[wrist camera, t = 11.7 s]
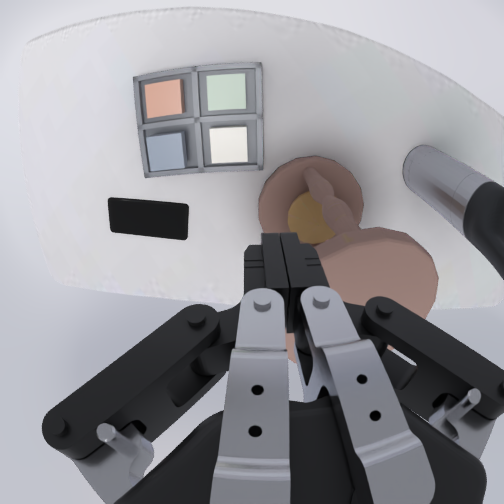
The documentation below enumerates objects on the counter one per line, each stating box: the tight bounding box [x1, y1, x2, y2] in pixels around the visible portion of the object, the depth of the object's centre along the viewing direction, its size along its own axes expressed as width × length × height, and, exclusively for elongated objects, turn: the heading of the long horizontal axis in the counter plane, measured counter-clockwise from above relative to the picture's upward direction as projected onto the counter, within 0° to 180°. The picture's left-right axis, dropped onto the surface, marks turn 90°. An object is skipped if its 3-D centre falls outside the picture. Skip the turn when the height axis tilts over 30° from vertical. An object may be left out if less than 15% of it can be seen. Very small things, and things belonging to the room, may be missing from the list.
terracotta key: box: [145, 79, 185, 118], centre depth 32 cm, size 5×5×2 cm
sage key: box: [207, 73, 246, 111], centre depth 32 cm, size 5×5×2 cm
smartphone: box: [108, 197, 189, 240], centre depth 45 cm, size 7×1×15 cm
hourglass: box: [259, 156, 439, 364], centre depth 34 cm, size 18×18×25 cm
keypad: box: [133, 62, 263, 178], centre depth 35 cm, size 18×16×2 cm
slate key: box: [146, 131, 187, 171], centre depth 35 cm, size 5×5×2 cm
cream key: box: [209, 125, 248, 163], centre depth 36 cm, size 5×5×2 cm
